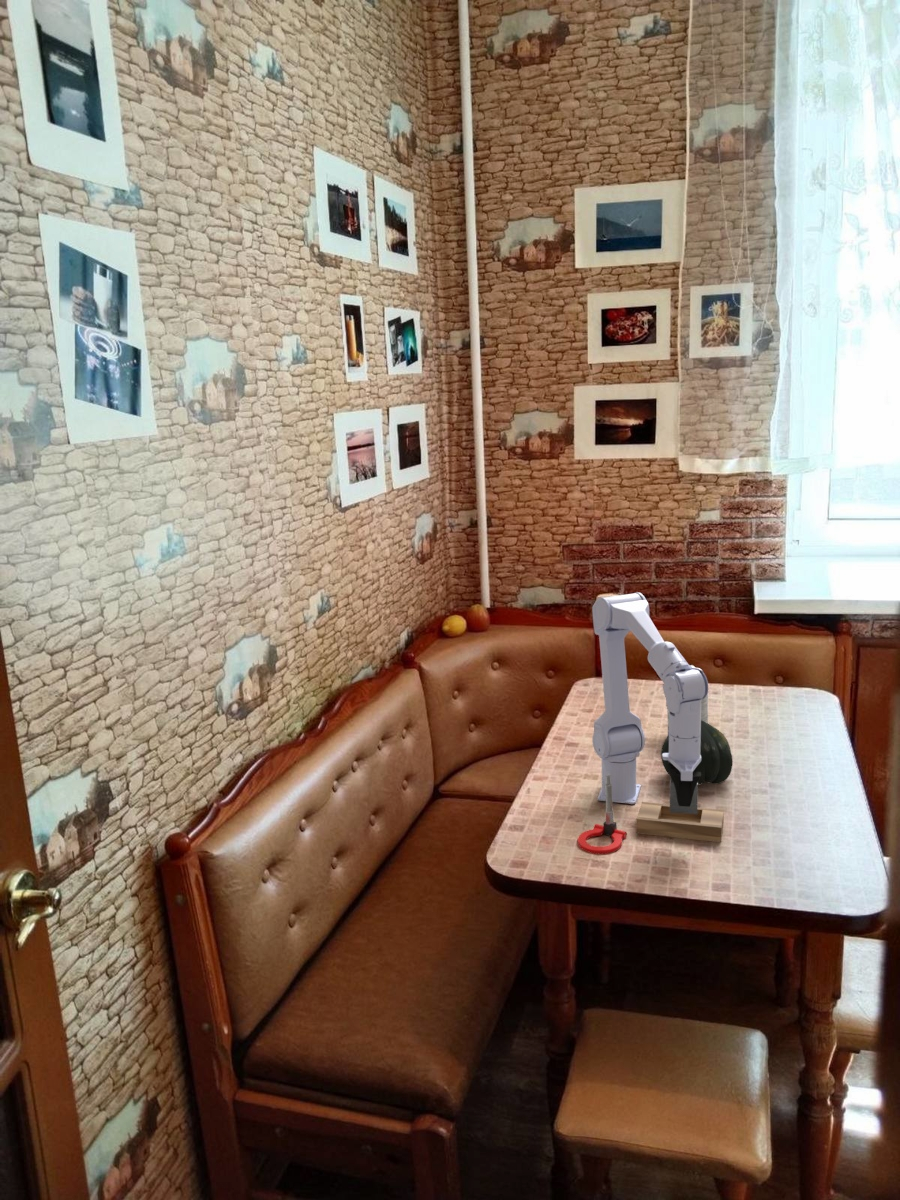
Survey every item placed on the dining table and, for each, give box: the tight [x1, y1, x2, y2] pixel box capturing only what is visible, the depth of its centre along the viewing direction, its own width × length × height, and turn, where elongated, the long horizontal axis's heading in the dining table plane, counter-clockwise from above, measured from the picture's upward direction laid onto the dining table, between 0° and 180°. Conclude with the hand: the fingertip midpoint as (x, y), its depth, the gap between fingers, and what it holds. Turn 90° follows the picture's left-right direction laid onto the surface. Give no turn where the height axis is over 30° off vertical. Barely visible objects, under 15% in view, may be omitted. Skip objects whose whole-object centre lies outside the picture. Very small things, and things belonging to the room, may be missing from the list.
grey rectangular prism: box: [669, 776, 699, 814], centre depth 180 cm, size 3×5×6 cm, turn 78°
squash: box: [660, 720, 734, 786], centre depth 210 cm, size 14×15×15 cm
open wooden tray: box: [635, 801, 725, 843], centre depth 189 cm, size 8×16×3 cm, turn 71°
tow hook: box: [577, 774, 628, 855], centre depth 183 cm, size 8×13×9 cm
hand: (683, 801), depth 181 cm, fingers closed on grey rectangular prism, 3 cm apart
